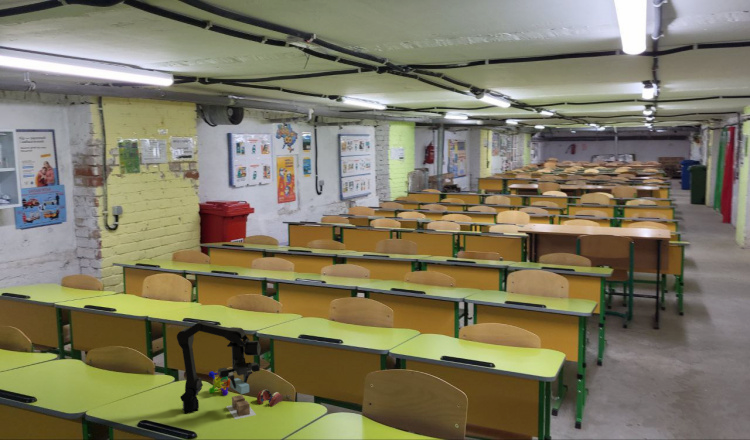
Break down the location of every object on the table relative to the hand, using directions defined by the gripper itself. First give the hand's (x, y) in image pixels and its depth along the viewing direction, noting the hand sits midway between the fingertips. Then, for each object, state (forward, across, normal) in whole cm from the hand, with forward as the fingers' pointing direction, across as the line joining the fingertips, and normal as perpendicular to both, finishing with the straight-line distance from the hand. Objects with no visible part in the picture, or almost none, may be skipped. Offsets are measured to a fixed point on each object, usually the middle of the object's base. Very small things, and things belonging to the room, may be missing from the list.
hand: (239, 387), depth 280 cm
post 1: (+11, 0, +4) cm, 12 cm away
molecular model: (+12, -3, +28) cm, 31 cm away
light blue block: (+1, 0, 0) cm, 1 cm away
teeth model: (+12, +15, +3) cm, 20 cm away
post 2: (+11, 0, -4) cm, 12 cm away
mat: (+12, 0, 0) cm, 12 cm away
